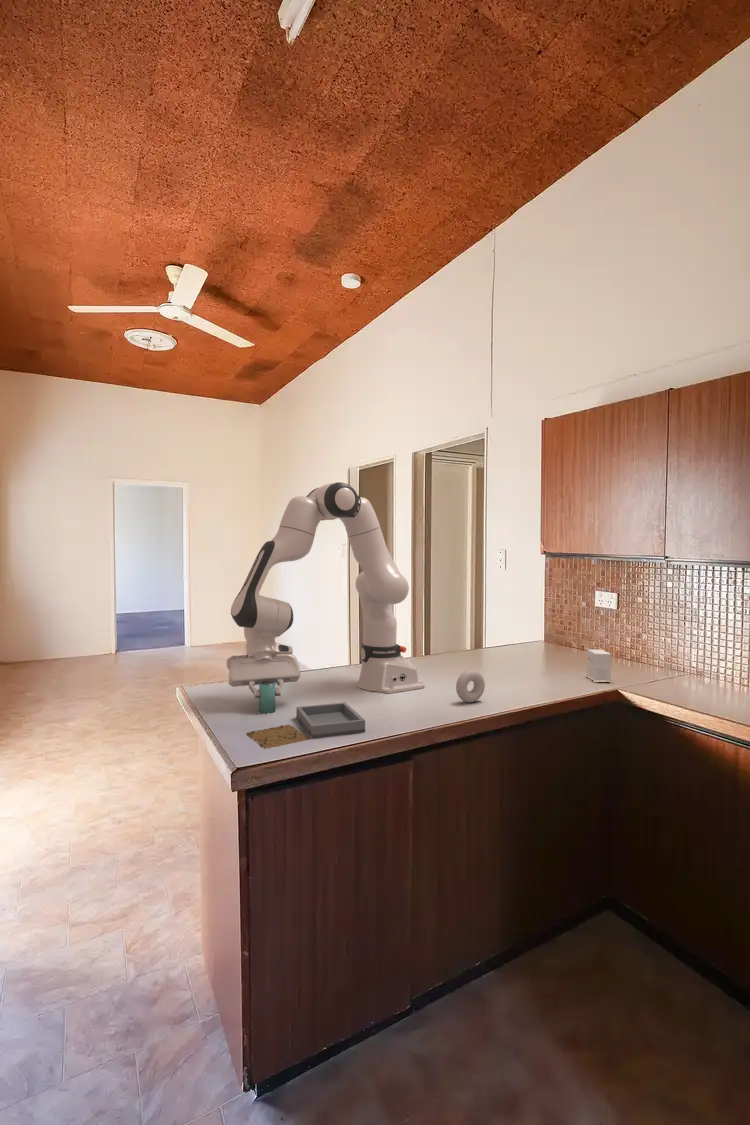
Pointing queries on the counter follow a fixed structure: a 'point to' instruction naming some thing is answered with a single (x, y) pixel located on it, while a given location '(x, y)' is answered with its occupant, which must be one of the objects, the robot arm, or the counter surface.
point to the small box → (599, 664)
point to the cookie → (277, 736)
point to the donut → (463, 682)
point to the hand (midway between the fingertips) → (267, 696)
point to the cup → (267, 697)
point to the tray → (330, 720)
